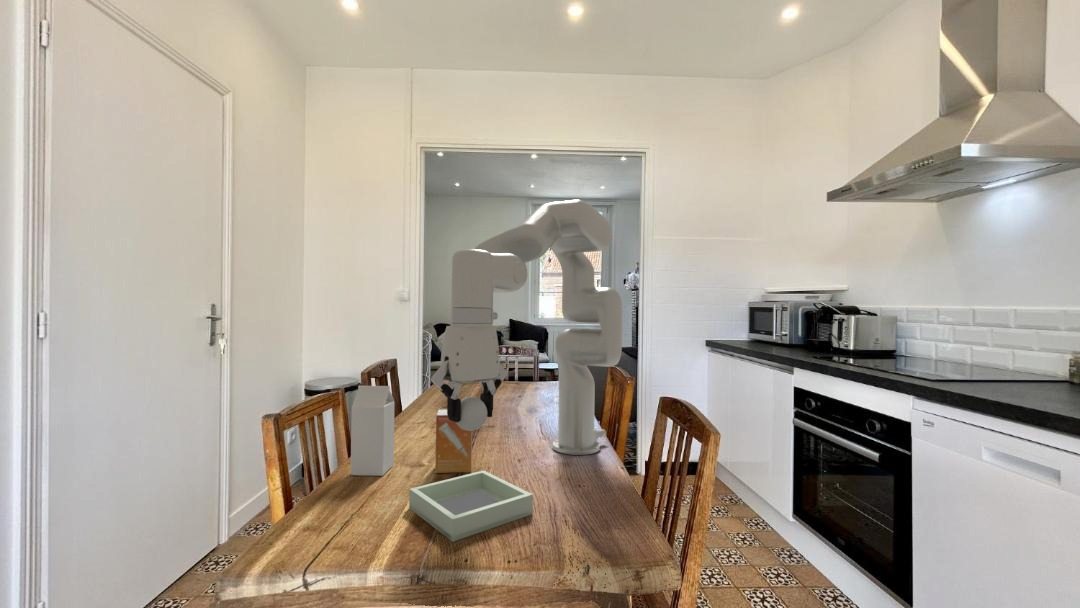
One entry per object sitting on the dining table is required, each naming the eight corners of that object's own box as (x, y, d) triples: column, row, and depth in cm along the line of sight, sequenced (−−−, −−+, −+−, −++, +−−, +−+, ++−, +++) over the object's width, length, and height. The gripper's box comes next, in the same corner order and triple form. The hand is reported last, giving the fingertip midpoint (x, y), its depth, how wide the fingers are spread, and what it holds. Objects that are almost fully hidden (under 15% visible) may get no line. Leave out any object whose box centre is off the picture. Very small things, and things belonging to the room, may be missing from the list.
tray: (483, 487, 95) (483, 470, 95) (532, 514, 83) (532, 494, 83) (409, 508, 85) (409, 488, 85) (452, 541, 73) (452, 519, 73)
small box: (434, 474, 103) (435, 414, 103) (437, 464, 109) (437, 409, 109) (471, 472, 104) (472, 414, 104) (472, 463, 110) (472, 408, 110)
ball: (475, 424, 88) (476, 393, 88) (493, 431, 84) (494, 397, 84) (447, 429, 84) (448, 396, 85) (464, 436, 80) (464, 401, 80)
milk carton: (382, 476, 101) (384, 388, 101) (350, 476, 101) (351, 388, 102) (393, 465, 108) (394, 383, 109) (363, 465, 108) (364, 383, 109)
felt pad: (479, 491, 91) (479, 490, 91) (508, 508, 83) (509, 506, 83) (432, 504, 85) (432, 503, 85) (459, 524, 77) (459, 522, 77)
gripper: (499, 318, 93) (498, 409, 92) (418, 318, 82) (416, 421, 81) (522, 318, 87) (521, 415, 87) (438, 318, 76) (436, 429, 76)
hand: (470, 417), depth 84 cm, fingers closed on ball, 5 cm apart
